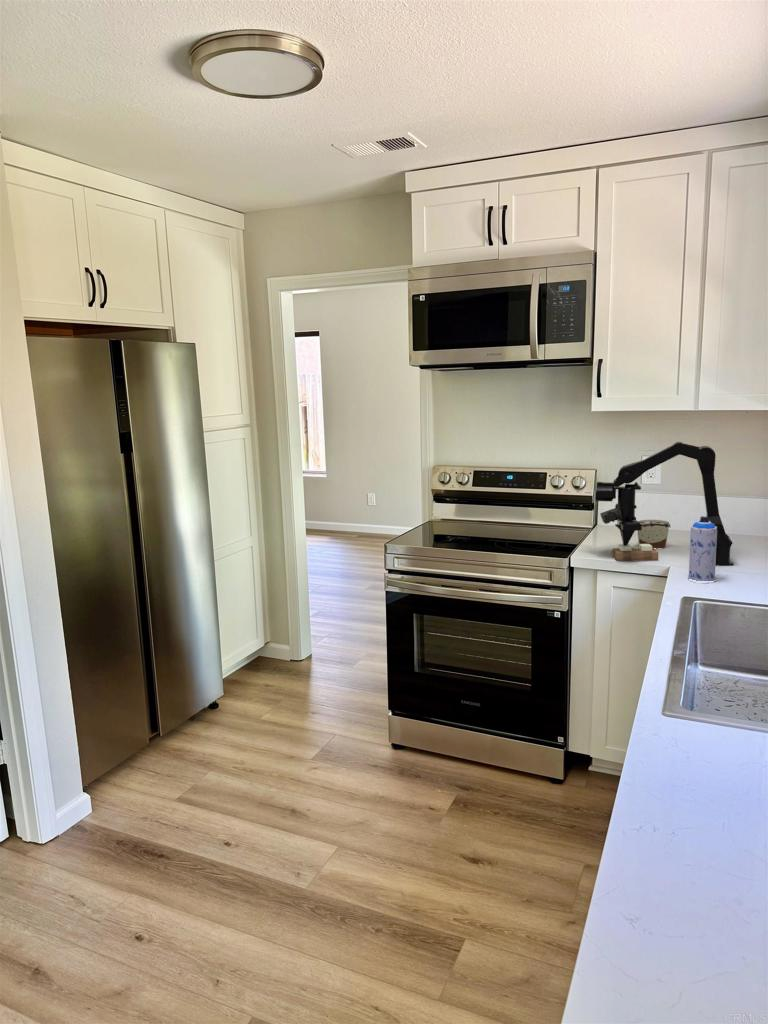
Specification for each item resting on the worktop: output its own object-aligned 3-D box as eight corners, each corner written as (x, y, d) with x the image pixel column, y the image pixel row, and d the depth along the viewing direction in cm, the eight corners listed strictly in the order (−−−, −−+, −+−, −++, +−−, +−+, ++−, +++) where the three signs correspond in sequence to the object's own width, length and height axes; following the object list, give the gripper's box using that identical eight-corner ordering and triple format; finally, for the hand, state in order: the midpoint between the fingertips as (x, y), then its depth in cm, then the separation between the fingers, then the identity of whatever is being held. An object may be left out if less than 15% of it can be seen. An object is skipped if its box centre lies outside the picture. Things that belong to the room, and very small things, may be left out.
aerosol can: (720, 579, 217) (723, 516, 214) (707, 585, 213) (710, 520, 209) (695, 575, 223) (698, 513, 220) (682, 580, 219) (685, 517, 215)
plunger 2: (651, 559, 244) (652, 546, 244) (641, 559, 245) (641, 546, 244) (648, 556, 248) (649, 543, 247) (638, 556, 248) (638, 544, 247)
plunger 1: (631, 559, 245) (631, 546, 244) (620, 559, 245) (621, 546, 245) (628, 557, 249) (628, 544, 248) (618, 557, 249) (618, 544, 248)
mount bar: (658, 560, 243) (658, 552, 242) (616, 561, 244) (617, 552, 243) (652, 555, 249) (652, 547, 249) (612, 556, 251) (612, 548, 250)
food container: (664, 544, 265) (665, 519, 263) (669, 548, 259) (670, 522, 257) (631, 545, 266) (632, 519, 264) (635, 549, 260) (636, 522, 258)
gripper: (596, 498, 253) (596, 540, 256) (608, 506, 235) (607, 552, 238) (628, 497, 252) (627, 539, 255) (642, 506, 234) (641, 551, 237)
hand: (625, 545), depth 246 cm, fingers closed, pressing on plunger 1
